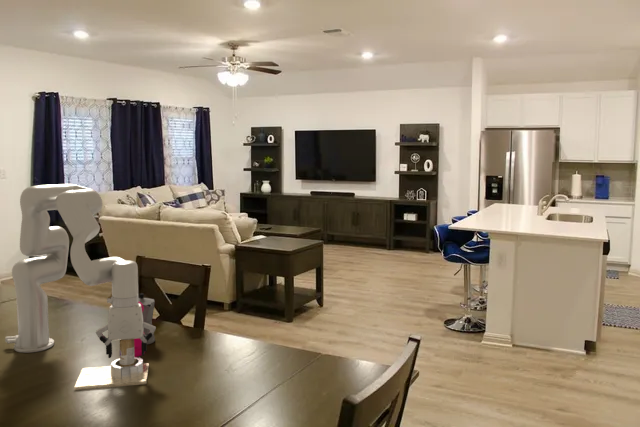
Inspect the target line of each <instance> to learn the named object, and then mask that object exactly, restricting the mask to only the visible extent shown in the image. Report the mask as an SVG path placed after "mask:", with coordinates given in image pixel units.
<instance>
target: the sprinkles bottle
mask: <svg viewBox="0 0 640 427" xmlns="http://www.w3.org/2000/svg"><path fill="white" fill-rule="evenodd" d="M119 358H120V367H128V366H132V365H134V339H125V340H119Z"/></svg>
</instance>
